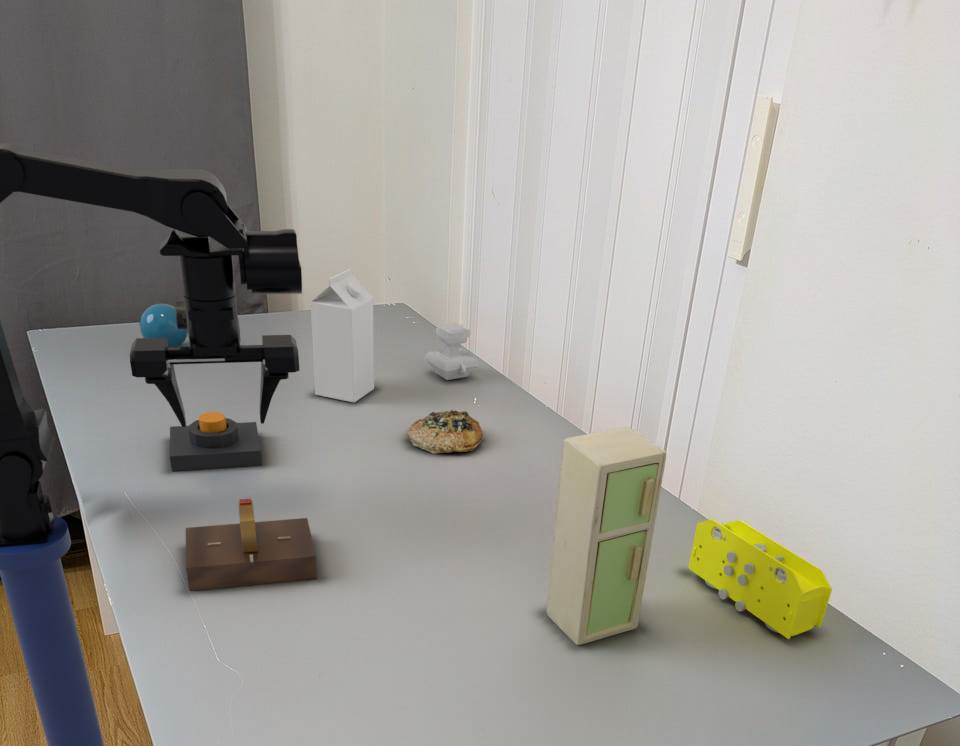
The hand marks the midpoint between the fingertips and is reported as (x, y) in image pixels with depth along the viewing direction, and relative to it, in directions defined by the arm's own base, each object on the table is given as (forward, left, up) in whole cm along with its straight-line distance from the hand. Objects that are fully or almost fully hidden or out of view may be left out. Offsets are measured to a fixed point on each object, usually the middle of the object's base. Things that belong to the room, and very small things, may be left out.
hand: (223, 424), depth 115 cm
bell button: (-1, +16, -7) cm, 17 cm away
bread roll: (+32, +15, -11) cm, 36 cm away
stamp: (+39, +41, -11) cm, 57 cm away
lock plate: (+2, -15, -11) cm, 19 cm away
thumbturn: (+2, -15, -8) cm, 17 cm away
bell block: (-1, +16, -11) cm, 19 cm away
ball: (-8, +60, -11) cm, 61 cm away
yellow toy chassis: (+56, -34, -11) cm, 66 cm away
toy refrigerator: (+37, -34, -11) cm, 51 cm away
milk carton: (+20, +36, -11) cm, 42 cm away
